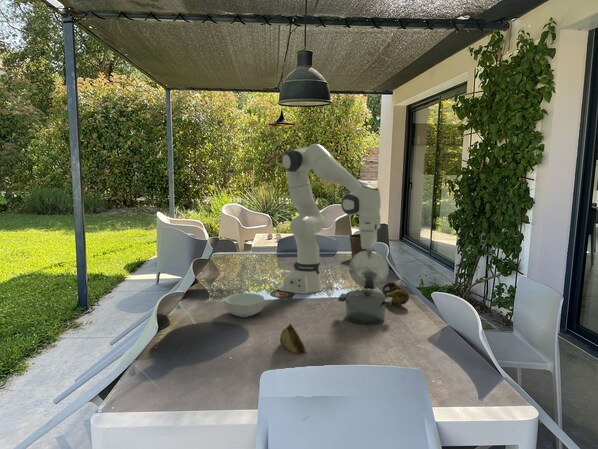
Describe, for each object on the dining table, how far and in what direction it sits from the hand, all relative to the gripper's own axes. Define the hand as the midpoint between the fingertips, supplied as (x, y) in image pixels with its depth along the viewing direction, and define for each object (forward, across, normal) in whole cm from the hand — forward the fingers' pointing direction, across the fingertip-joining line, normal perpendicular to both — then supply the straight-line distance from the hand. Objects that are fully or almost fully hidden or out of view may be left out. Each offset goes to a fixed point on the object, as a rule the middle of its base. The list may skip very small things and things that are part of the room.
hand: (369, 256), depth 190 cm
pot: (+24, +9, 0) cm, 26 cm away
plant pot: (+24, -106, -22) cm, 111 cm away
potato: (+25, -12, +11) cm, 30 cm away
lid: (+6, +2, 0) cm, 6 cm away
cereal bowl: (+24, +18, -50) cm, 59 cm away
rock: (+25, +46, -20) cm, 56 cm away
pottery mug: (+25, -26, +7) cm, 37 cm away
